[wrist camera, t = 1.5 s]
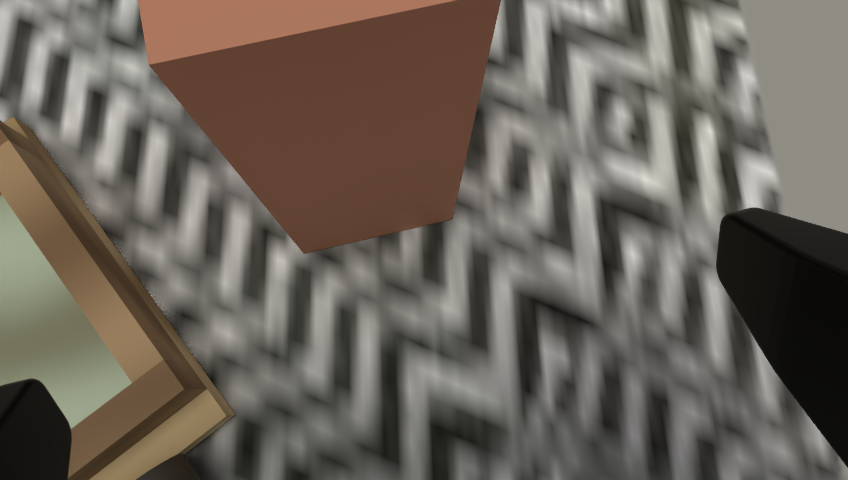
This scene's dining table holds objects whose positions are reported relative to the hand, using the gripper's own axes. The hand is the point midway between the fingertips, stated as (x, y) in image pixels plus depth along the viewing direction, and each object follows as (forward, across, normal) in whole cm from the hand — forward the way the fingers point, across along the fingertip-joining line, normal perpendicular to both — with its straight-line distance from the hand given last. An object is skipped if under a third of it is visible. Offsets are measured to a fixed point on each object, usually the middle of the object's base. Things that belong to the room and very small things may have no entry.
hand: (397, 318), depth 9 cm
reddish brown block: (+14, 0, +4) cm, 14 cm away
